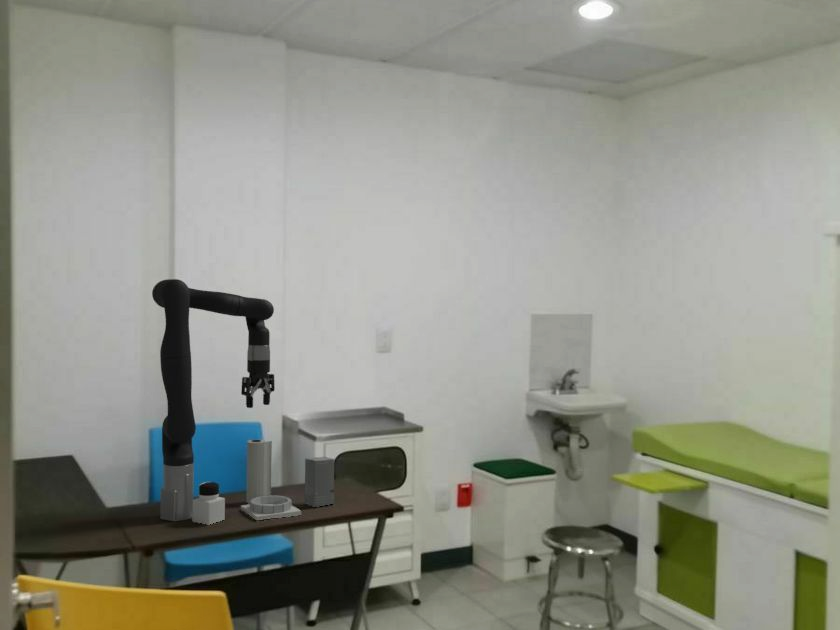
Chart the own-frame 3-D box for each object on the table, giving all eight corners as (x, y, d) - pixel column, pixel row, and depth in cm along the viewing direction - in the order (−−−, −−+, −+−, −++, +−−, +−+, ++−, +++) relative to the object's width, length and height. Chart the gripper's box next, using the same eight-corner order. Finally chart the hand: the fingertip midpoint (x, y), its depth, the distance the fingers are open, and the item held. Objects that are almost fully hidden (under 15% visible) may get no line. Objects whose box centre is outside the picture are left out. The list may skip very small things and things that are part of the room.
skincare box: (314, 508, 276) (314, 461, 276) (302, 504, 282) (303, 457, 281) (335, 504, 281) (336, 458, 281) (323, 500, 287) (324, 454, 286)
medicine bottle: (225, 520, 260) (225, 482, 260) (208, 525, 254) (209, 486, 254) (208, 516, 264) (208, 479, 264) (191, 522, 258) (192, 483, 257)
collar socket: (256, 521, 260) (256, 508, 260) (240, 510, 273) (241, 497, 272) (301, 515, 267) (301, 503, 267) (283, 504, 280) (284, 492, 280)
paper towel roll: (242, 503, 280) (243, 441, 279) (254, 500, 286) (254, 438, 285) (259, 506, 277) (260, 443, 276) (270, 502, 282) (271, 440, 281)
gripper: (263, 356, 288) (263, 403, 288) (235, 359, 275) (235, 407, 276) (280, 357, 284) (280, 404, 285) (253, 360, 272) (252, 409, 272)
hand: (258, 406), depth 280 cm, fingers open, 8 cm apart
